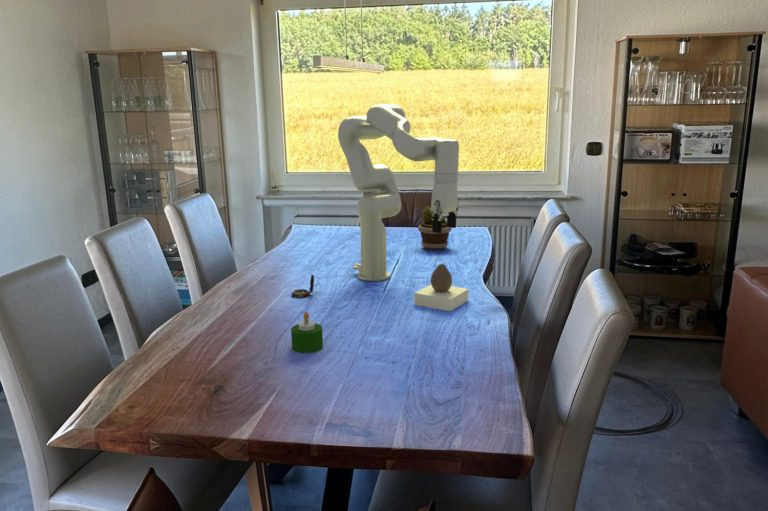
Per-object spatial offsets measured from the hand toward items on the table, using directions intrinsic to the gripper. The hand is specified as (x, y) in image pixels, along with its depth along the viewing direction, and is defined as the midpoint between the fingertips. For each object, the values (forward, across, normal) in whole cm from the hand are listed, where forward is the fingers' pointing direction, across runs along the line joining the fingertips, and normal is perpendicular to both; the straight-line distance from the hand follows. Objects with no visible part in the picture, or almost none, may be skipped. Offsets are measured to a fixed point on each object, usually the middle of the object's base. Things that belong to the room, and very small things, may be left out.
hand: (444, 229), depth 205 cm
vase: (+19, +6, +3) cm, 20 cm away
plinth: (+23, +6, +3) cm, 24 cm away
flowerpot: (+24, -61, -38) cm, 76 cm away
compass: (+24, +25, -40) cm, 53 cm away
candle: (+23, +59, -8) cm, 64 cm away
